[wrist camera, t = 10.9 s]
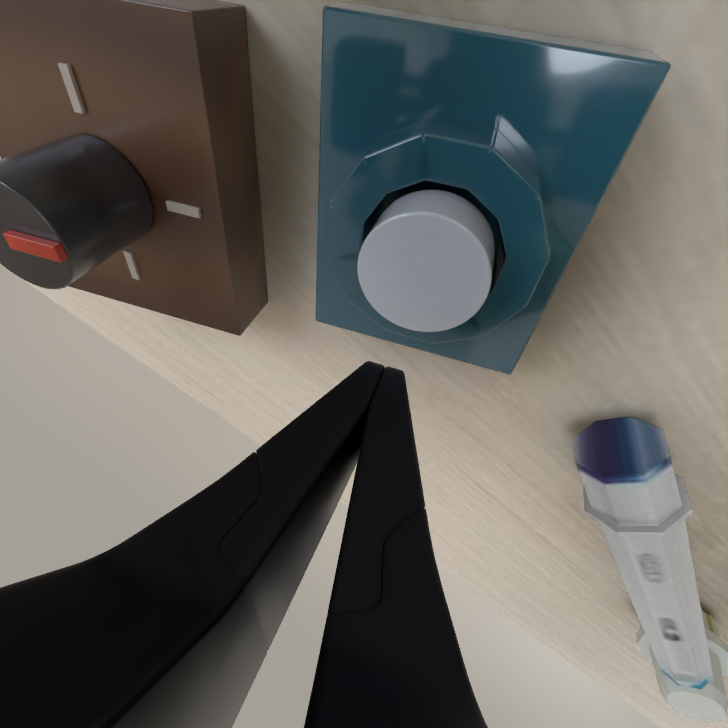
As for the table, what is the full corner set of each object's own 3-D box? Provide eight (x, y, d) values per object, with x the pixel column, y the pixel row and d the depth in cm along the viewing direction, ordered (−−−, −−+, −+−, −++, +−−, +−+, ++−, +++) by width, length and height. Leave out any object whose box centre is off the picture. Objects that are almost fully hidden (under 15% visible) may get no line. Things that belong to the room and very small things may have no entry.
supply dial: (83, 225, 18) (-13, 278, 15) (41, 123, 15) (-88, 162, 12) (164, 247, 17) (82, 307, 14) (137, 145, 14) (27, 191, 11)
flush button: (380, 175, 12) (363, 197, 11) (515, 205, 12) (512, 231, 10) (365, 287, 15) (351, 315, 14) (474, 315, 14) (468, 346, 13)
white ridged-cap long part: (701, 477, 16) (759, 761, 25) (666, 378, 21) (725, 645, 30) (557, 484, 19) (657, 738, 28) (556, 395, 24) (642, 635, 33)
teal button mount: (347, 1, 13) (294, 8, 10) (654, 51, 11) (694, 75, 9) (331, 295, 20) (299, 346, 18) (512, 343, 19) (509, 406, 16)
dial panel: (-9, -38, 15) (-104, -41, 13) (245, 5, 13) (188, 10, 11) (105, 257, 23) (61, 286, 21) (268, 302, 22) (238, 338, 20)
